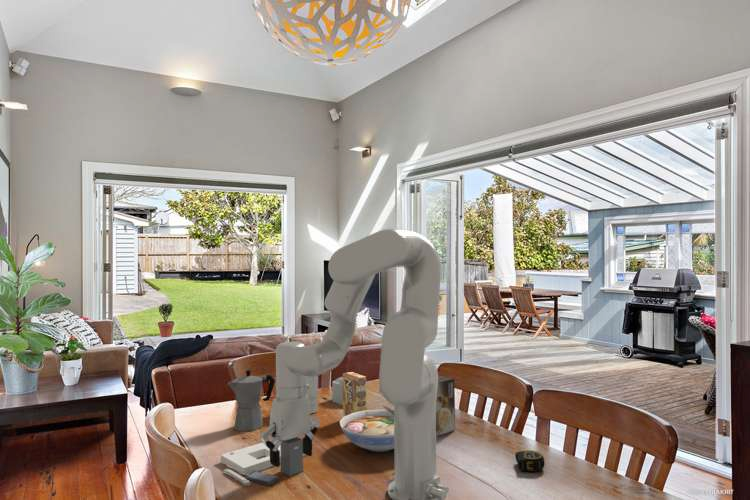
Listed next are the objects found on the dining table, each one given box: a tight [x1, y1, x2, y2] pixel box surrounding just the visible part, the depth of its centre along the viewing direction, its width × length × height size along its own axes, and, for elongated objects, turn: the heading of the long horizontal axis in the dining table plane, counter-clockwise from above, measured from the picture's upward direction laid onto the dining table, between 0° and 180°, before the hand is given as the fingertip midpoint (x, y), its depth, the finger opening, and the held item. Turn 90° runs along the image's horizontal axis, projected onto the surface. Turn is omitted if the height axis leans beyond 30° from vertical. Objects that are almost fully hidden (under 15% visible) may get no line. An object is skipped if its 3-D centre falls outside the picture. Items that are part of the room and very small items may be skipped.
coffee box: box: [436, 375, 456, 437], centre depth 160 cm, size 9×6×16 cm
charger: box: [280, 437, 304, 477], centre depth 131 cm, size 4×4×8 cm
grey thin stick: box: [223, 468, 251, 487], centre depth 127 cm, size 11×1×1 cm, turn 44°
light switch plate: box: [220, 439, 307, 476], centre depth 140 cm, size 12×20×2 cm, turn 134°
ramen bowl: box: [339, 405, 394, 453], centre depth 147 cm, size 25×23×8 cm
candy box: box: [342, 371, 368, 417], centre depth 170 cm, size 9×4×15 cm, turn 33°
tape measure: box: [514, 449, 546, 473], centre depth 132 cm, size 7×7×4 cm
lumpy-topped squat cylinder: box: [331, 376, 368, 405], centre depth 194 cm, size 10×13×9 cm
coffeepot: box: [227, 369, 276, 432], centre depth 166 cm, size 15×9×18 cm, turn 121°
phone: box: [244, 471, 280, 487], centre depth 126 cm, size 8×4×1 cm, turn 64°
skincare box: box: [306, 375, 319, 414], centre depth 182 cm, size 8×7×16 cm
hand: (291, 459), depth 131 cm, fingers open, 9 cm apart
